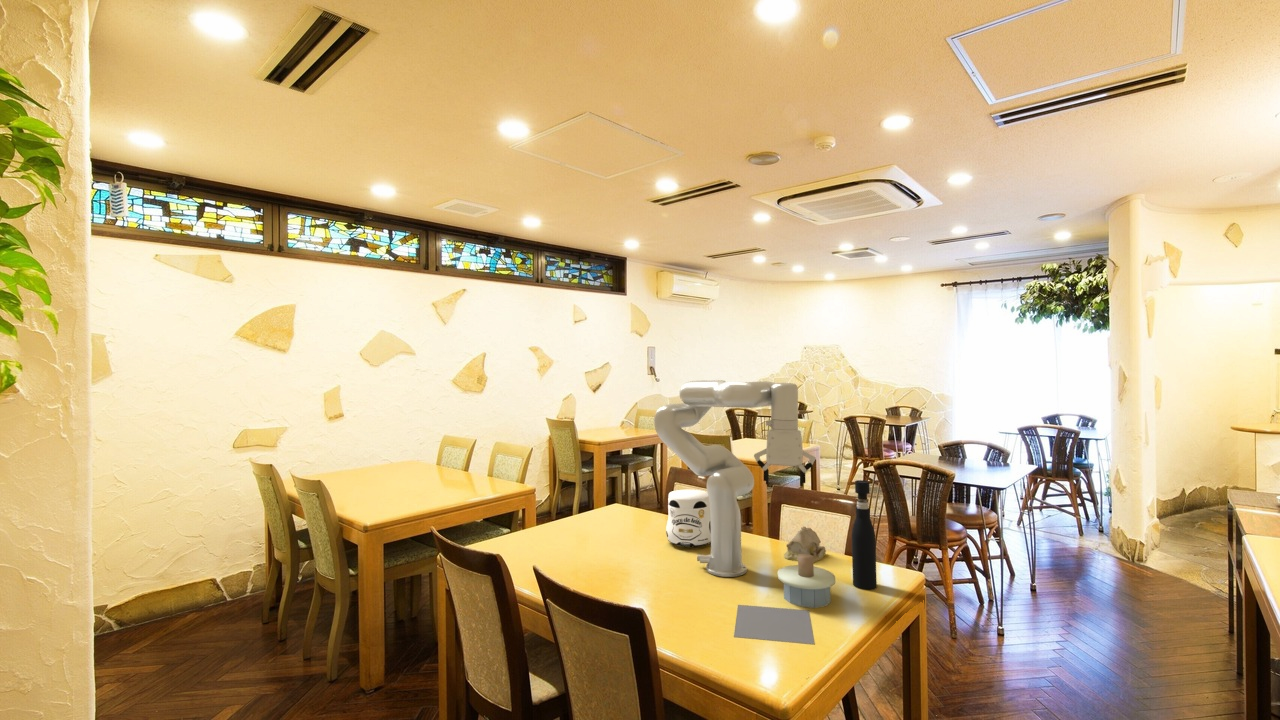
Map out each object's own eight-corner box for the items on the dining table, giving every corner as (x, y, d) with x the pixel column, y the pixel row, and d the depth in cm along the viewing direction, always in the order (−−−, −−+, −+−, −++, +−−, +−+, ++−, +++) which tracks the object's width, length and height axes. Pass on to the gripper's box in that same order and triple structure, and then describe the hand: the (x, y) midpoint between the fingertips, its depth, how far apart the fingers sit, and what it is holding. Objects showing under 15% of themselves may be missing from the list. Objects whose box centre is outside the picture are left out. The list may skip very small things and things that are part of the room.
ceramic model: (806, 566, 176) (805, 534, 176) (778, 557, 185) (777, 527, 185) (831, 556, 184) (831, 526, 185) (803, 548, 193) (802, 519, 193)
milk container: (678, 553, 189) (677, 501, 189) (658, 539, 205) (658, 491, 206) (722, 547, 195) (721, 496, 196) (700, 534, 211) (699, 487, 212)
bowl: (784, 608, 144) (784, 585, 144) (783, 590, 156) (782, 569, 156) (832, 612, 142) (832, 588, 142) (827, 593, 153) (827, 572, 153)
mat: (733, 640, 128) (733, 636, 128) (737, 607, 145) (737, 604, 145) (814, 647, 123) (814, 644, 123) (808, 613, 141) (808, 610, 141)
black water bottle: (848, 581, 161) (846, 479, 162) (869, 580, 162) (867, 479, 163) (859, 590, 155) (856, 484, 156) (881, 589, 156) (878, 483, 156)
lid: (778, 587, 143) (777, 563, 143) (777, 567, 158) (776, 546, 158) (838, 591, 140) (838, 567, 140) (832, 570, 154) (831, 549, 155)
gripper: (753, 425, 157) (753, 485, 157) (816, 428, 153) (816, 489, 153) (754, 423, 165) (754, 480, 165) (814, 425, 161) (814, 483, 160)
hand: (784, 484), depth 159 cm, fingers open, 9 cm apart
